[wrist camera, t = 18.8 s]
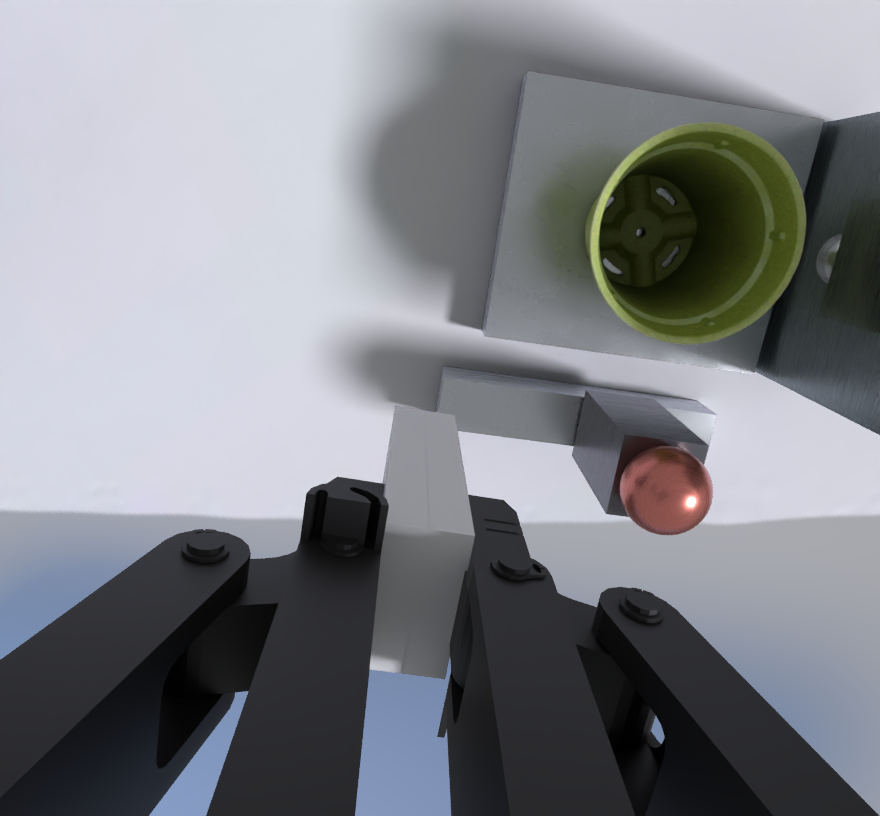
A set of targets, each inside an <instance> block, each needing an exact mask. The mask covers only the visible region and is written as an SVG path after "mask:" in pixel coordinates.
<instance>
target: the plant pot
mask: <svg viewBox="0 0 880 816" xmlns="http://www.w3.org/2000/svg"><path fill="white" fill-rule="evenodd" d="M658 188H664V189H666V190H667V191H668V192H669V193H671V194H672V195H673V196H674V197H675V199H676V201H677V202H676V203H677V204H676V205H675V206H672V204H671V203H670V202H669V201H668V200H667V199H666V198H665V197H663V196H662V195H660V194H658V193H657V189H658ZM613 196H614V197H616V199H615V201H614V202H613V203H612V204H611V205H610V207H609V208H608V209H607V211H606V212H605V214H604V211H605V208H606V205H607V203H608V201H609V199H610V197H613ZM603 214H604V215H603ZM641 227H642V228H644V229H645V230H646V233H645V235H644V236H643V237H638V236H637V230H638V229H639V228H641ZM805 233H806V210H805V203H804V198H803V193H802V190H801V187H800V184H799V182H798V180H797V177H796V175H795V173H794V171H793V170H792V168H791V167H790V165H789V164H788V162H787V161H786V159H785V158H784V157H783V156H782V155H781V154H780V153H779V152H778V151H777V150H776V149H775V148H774V147H773V146H772V145H771V144H769V143H768V142H767V141H765V140H764V139H763V138H761V137H759V136H758V135H756V134H754V133H752V132H750V131H748V130H746V129H743V128H740V127H736V126H733V125H729V124H724V123H715V122H700V123H691V124H685V125H681V126H677V127H674V128H671V129H668V130H665V131H663V132H661V133H659V134H657V135H655V136H653V137H651V138H649V139H648V140H646V141H645V142H643V143H642V144H640V145H639V146H638V147H636V148H635V149H634V150H633V151H632V152H630V153H629V154H628V155H627V156H626V157H625V158H624V159H623V160H622V161H621V163H620V164H619V165H618V166H617V167H616V169H615V170H614V171H613V173H612V174H611V175H610V177H609V179H608V180H607V182H606V184H605V185H604V187H603V189H602V191H601V194H600V195H599V196H598V197H597V199H596V200H595V202H594V203H593V205H592V207H591V209H590V212H589V214H588V216H587V220H586V224H585V243H586V249H587V253H588V256H589V258H590V261H591V267H592V271H593V275H594V278H595V281H596V284H597V286H598V288H599V290H600V292H601V294H602V296H603V298H604V299H605V301H606V302H607V304H608V305H609V307H610V308H611V309H612V310H613V311H614V312H615V314H616V315H617V316H618V317H619V318H621V319H622V320H623V321H624V322H625V323H626V324H628V325H629V326H630V327H632V328H633V329H635V330H636V331H638V332H640V333H642V334H644V335H646V336H648V337H651V338H653V339H656V340H660V341H664V342H668V343H674V344H701V343H707V342H712V341H716V340H719V339H722V338H725V337H728V336H730V335H732V334H734V333H736V332H738V331H740V330H742V329H744V328H746V327H747V326H749V325H751V324H752V323H754V322H755V321H756V320H758V319H759V318H760V317H761V316H762V315H764V314H765V313H766V312H767V311H768V310H769V309H770V308H771V307H772V306H773V304H774V303H775V302H776V301H777V300H778V298H779V297H780V296H781V295H782V293H783V292H784V290H785V289H786V287H787V286H788V284H789V282H790V281H791V279H792V276H793V274H794V273H795V271H796V269H797V266H798V264H799V261H800V258H801V255H802V252H803V247H804V239H805ZM676 246H679V248H680V251H679V253H678V254H677V256H676V257H675V258H674V261H673V262H672V263H671V264H670V265H669V266H668V267H663V266H662V263H663V262H664V261H665V260H666V259H667V258H668V257H669V256H670V255H671V253H672V252H673V251H674V249H675V247H676ZM605 258H607V259H609V261H610V262H611V263H612V264H613V265H614V266H616V267H617V268H619V269H620V270H621V271H623V274H617V273H614V272H612V271H610V270H609V269H608V268H607V267H606V266H605V265H604V263H603V260H604V259H605Z"/></svg>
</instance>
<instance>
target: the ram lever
mask: <svg viewBox="0 0 880 816" xmlns="http://www.w3.org/2000/svg"><path fill="white" fill-rule="evenodd" d="M708 447H709V445H708V444H706V443H705V442H704V441H703V440H702V439H701V438H699V437H698V436H697V435H696V434H695V433H694V432H692V431H691V430H690V429H689V428H688V427H686V426H685V425H684V424H683V423H682V422H681V421H679V420H678V419H677V418H676V417H675V416H674V415H672V414H671V413H670V412H669V411H668V410H667V409H665V408H664V407H663V406H662V405H661V404H659V403H658V402H657V401H656V400H655V399H650V398H643V397H635V396H628V395H621V394H613V393H606V392H599V391H591V390H586V391H585V396H584V400H583V405H582V410H581V415H580V420H579V424H578V429H577V434H576V439H575V443H574V448H573V453H572V456H573V458H574V460H575V462H576V463H577V465H578V467H579V468H580V470H581V472H582V474H583V475H584V477H585V479H586V480H587V482H588V484H589V485H590V487H591V489H592V491H593V492H594V494H595V496H596V497H597V499H598V501H599V502H600V504H601V506H602V508H603V509H604V511H605V513H606V514H611V515H619V516H627V517H630V518H631V519H632V520H633V521H634V522H635V523H636V524H637V525H639V526H640V527H642V528H643V529H645V530H647V531H649V532H652V533H655V534H659V535H676V534H681V533H684V532H686V531H689V530H690V529H692V528H694V527H695V526H697V525H698V524H699V523H700V522H701V521H702V520H703V519H704V517H705V516H706V514H707V513H708V511H709V509H710V506H711V503H712V498H713V487H712V481H711V478H710V476H709V473H708V471H707V469H706V468H705V466H704V462H705V458H706V454H707V451H708Z"/></svg>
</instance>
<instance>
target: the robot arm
mask: <svg viewBox="0 0 880 816" xmlns="http://www.w3.org/2000/svg"><path fill="white" fill-rule="evenodd" d="M250 554H251V553H250V550H249V546H248V545H247V544H246V543H245V542H244V541H243V540H242V539H240V538H238V537H236V536H234V535H231V534H229V533H225V532H218V531H216V530H209V529H206V530H203V529H199V530H193V531H189V532H184V533H180V534H177V535H175V536H173V537H171V538H169V539H166V540H165V541H163V542H162V543H161V544H159V545H158V546H157V547H155V548H154V549H152V550H151V551H150V552H148V553H147V554H146V555H144V556H143V557H141V558H140V559H139V560H137V561H136V562H135V563H133V564H132V565H130V566H129V567H128V568H126V569H125V570H124V571H122V572H121V573H120V574H118V575H117V576H115V577H114V578H113V579H111V580H110V581H108V582H107V583H106V584H104V585H103V586H101V587H100V588H99V589H97V590H96V591H95V592H93V593H92V594H90V595H89V596H88V597H86V598H85V599H84V600H82V601H81V602H79V603H78V604H77V605H76V606H74V607H73V608H71V609H70V610H68V611H67V612H66V613H64V614H63V615H62V616H60V617H59V618H57V619H56V620H55V621H53V622H52V623H51V624H49V625H48V626H46V627H45V628H44V629H43V630H41V631H40V632H38V633H37V634H35V635H34V636H33V637H31V638H30V639H29V640H27V641H26V642H25V643H23V644H22V645H20V646H19V647H18V648H16V649H15V650H13V651H12V652H11V653H9V654H8V655H7V656H5V657H4V658H3V659H1V660H0V816H149V815H150V813H151V812H152V811H153V809H154V808H155V807H156V805H157V804H158V803H159V801H160V800H161V799H162V797H163V796H164V795H165V794H166V792H167V791H168V790H169V788H170V787H171V785H172V784H173V783H174V781H175V780H176V779H177V778H178V776H179V775H180V774H181V772H182V771H183V770H184V768H185V767H186V766H187V764H188V763H189V762H190V760H191V759H192V758H193V756H194V755H195V754H196V752H197V751H198V750H199V748H200V747H201V746H202V744H203V743H204V742H205V741H206V739H207V738H208V737H209V735H210V734H211V733H212V731H213V730H214V729H215V727H216V726H217V725H218V723H219V722H220V721H221V719H222V718H223V717H224V715H225V714H226V713H227V711H228V710H229V709H230V706H231V704H232V702H233V700H234V697H235V692H242V691H249V692H248V695H247V698H246V701H245V704H244V707H243V710H242V712H241V715H240V719H239V721H238V724H237V727H236V730H235V733H234V736H233V739H232V742H231V745H230V748H229V751H228V754H227V756H226V760H225V762H224V765H223V769H222V771H221V774H220V777H219V780H218V783H217V786H216V789H215V792H214V795H213V798H212V800H211V803H210V806H209V809H208V812H207V815H206V816H355V808H356V798H357V788H358V778H359V768H360V758H361V748H362V739H363V728H364V718H365V708H366V698H367V688H368V678H369V669H372V670H380V671H387V672H395V673H402V674H410V675H418V676H425V677H433V678H441V679H445V677H446V672H447V667H448V662H449V657H450V658H451V675H450V680H449V684H448V689H447V694H446V699H445V703H444V708H443V713H442V718H441V722H440V727H439V732H438V737H444V736H445V733H446V729H447V736H448V757H449V777H450V795H451V816H879V815H878V814H877V813H876V812H875V811H874V810H873V809H872V808H871V807H870V806H869V805H868V804H867V803H866V802H865V801H864V800H863V799H862V798H861V797H860V796H859V795H858V794H857V793H856V792H855V791H854V790H853V789H852V788H851V787H850V786H849V785H848V784H847V783H846V782H845V781H844V780H843V779H842V778H841V777H840V776H839V774H838V773H837V772H836V771H835V770H834V769H833V768H832V767H831V766H830V765H829V764H828V763H827V762H826V761H825V760H823V758H822V757H821V756H820V755H819V754H818V753H817V752H816V751H815V750H814V749H813V748H812V747H811V746H810V745H809V744H808V743H807V742H806V741H805V740H804V739H803V738H802V737H801V736H800V735H799V734H798V733H797V732H796V731H795V730H794V729H793V728H792V727H791V726H790V725H789V724H788V723H787V722H786V721H785V720H784V719H783V718H782V717H781V716H780V715H779V714H778V713H777V712H776V710H775V709H774V708H773V707H772V706H771V705H770V704H768V702H767V701H766V700H765V699H764V698H763V697H762V696H761V695H760V694H759V693H758V692H757V691H756V690H755V689H754V688H753V687H752V686H751V685H750V684H749V683H748V682H747V681H746V680H745V679H744V678H743V677H742V676H741V675H740V674H739V673H738V672H737V671H736V670H735V669H734V668H733V667H732V666H731V665H730V664H729V663H728V662H727V661H726V660H725V659H724V658H723V657H722V656H721V655H720V654H719V653H718V652H717V651H716V650H715V649H714V648H713V647H712V646H711V645H710V644H709V642H707V640H706V639H705V638H704V637H703V636H702V635H701V634H700V633H699V632H698V631H697V630H696V629H695V628H694V627H693V626H692V625H691V624H690V623H689V622H688V621H687V620H686V619H685V618H684V617H683V616H682V615H681V614H680V613H679V612H678V611H677V610H676V609H675V608H673V607H672V606H671V605H669V604H668V603H667V602H666V601H664V600H662V599H660V598H658V597H656V596H654V595H653V594H652V593H650V592H647V591H642V590H641V589H637V588H624V587H617V588H609V589H607V590H605V591H604V592H602V593H601V595H600V599H599V603H598V606H597V607H594V606H591V605H588V604H584V603H582V602H578V601H575V600H572V599H570V598H567V597H565V596H562V595H561V594H559V593H558V592H557V590H556V587H555V584H554V581H553V578H552V576H551V574H550V573H549V571H548V570H547V568H546V567H544V566H543V565H542V564H540V563H539V562H537V561H536V560H534V559H531V558H530V555H529V552H528V549H527V545H526V542H525V539H524V536H523V532H522V529H521V526H520V523H519V519H518V516H517V513H516V511H515V510H513V509H512V508H511V507H510V506H509V505H508V504H507V503H506V502H505V501H504V500H499V499H492V498H486V497H479V496H473V495H468V491H467V485H466V479H465V473H464V467H463V461H462V455H461V449H460V443H459V437H458V431H457V425H456V419H455V415H450V414H444V413H438V412H431V411H425V410H419V409H413V408H406V407H400V406H395V411H394V417H393V423H392V429H391V435H390V441H389V447H388V453H387V459H386V465H385V471H384V477H383V484H381V483H375V482H368V481H362V480H355V479H348V478H342V477H337V478H335V479H333V480H332V481H330V482H329V483H327V484H321V485H318V486H316V487H313V488H311V489H310V490H309V491H308V493H307V494H306V501H305V508H304V516H303V523H302V532H301V538H300V543H299V545H298V549H297V551H295V552H293V553H291V554H288V555H284V556H281V557H276V558H265V559H250ZM655 716H657V718H658V720H659V722H660V723H661V725H662V729H663V732H664V735H665V738H664V741H663V743H662V744H660V743H659V742H658V740H657V739H656V738H655V736H654V735H653V734H652V732H651V729H652V725H653V722H654V719H655Z"/></svg>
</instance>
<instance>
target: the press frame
mask: <svg viewBox="0 0 880 816" xmlns="http://www.w3.org/2000/svg"><path fill="white" fill-rule="evenodd" d="M700 122H715V123H724V124H729V125H733V126H736V127H740V128H743V129H746V130H748V131H750V132H752V133H754V134H756V135H758V136H759V137H761V138H763V139H764V140H765V141H767V142H768V143H769V144H771V145H772V146H773V147H774V148H775V149H776V150H777V151H778V152H779V153H780V154H781V155H782V156H783V157H784V158H785V159H786V161H787V162H788V164H789V165H790V167H791V168H792V170H793V171H794V173H795V175H796V177H797V180H798V182H799V184H800V187H801V190H802V193H803V198H804V203H805V210H806V233H805V239H804V247H803V252H802V255H801V258H800V261H799V264H798V266H797V269H796V271H795V273H794V274H793V276H792V279H791V281H790V282H789V284H788V286H787V287H786V289H785V290H784V292H783V293H782V295H781V296H780V297H779V298H778V300H777V301H776V302H775V303H774V304H773V306H772V307H771V308H770V309H769V310H768V311H767V312H766V313H765V314H764V315H762V316H761V317H760V318H759V319H758V320H756V321H755V322H754V323H752V324H751V325H749V326H747V327H746V328H744V329H742V330H740V331H738V332H736V333H734V334H732V335H730V336H728V337H725V338H722V339H719V340H716V341H712V342H707V343H701V344H674V343H668V342H664V341H660V340H656V339H653V338H651V337H648V336H646V335H644V334H642V333H640V332H638V331H636V330H635V329H633V328H632V327H630V326H629V325H628V324H626V323H625V322H624V321H623V320H622V319H621V318H619V317H618V316H617V315H616V314H615V312H614V311H613V310H612V309H611V308H610V307H609V305H608V304H607V302H606V301H605V299H604V298H603V296H602V294H601V292H600V290H599V288H598V286H597V284H596V281H595V278H594V275H593V271H592V267H591V261H590V258H589V256H588V253H587V249H586V243H585V224H586V220H587V216H588V214H589V212H590V209H591V207H592V205H593V203H594V202H595V200H596V199H597V197H598V196H599V195H600V194H601V191H602V189H603V187H604V185H605V184H606V182H607V180H608V179H609V177H610V175H611V174H612V173H613V171H614V170H615V169H616V167H617V166H618V165H619V164H620V163H621V161H622V160H623V159H624V158H625V157H626V156H627V155H628V154H629V153H630V152H632V151H633V150H634V149H635V148H636V147H638V146H639V145H640V144H642V143H643V142H645V141H646V140H648V139H649V138H651V137H653V136H655V135H657V134H659V133H661V132H663V131H665V130H668V129H671V128H674V127H677V126H681V125H685V124H691V123H700ZM823 122H824V119H818V118H812V117H806V116H800V115H794V114H787V113H781V112H775V111H769V110H763V109H757V108H751V107H745V106H739V105H733V104H726V103H720V102H714V101H708V100H702V99H696V98H690V97H684V96H678V95H672V94H665V93H659V92H653V91H647V90H641V89H635V88H629V87H623V86H617V85H611V84H604V83H598V82H592V81H586V80H580V79H574V78H568V77H562V76H556V75H550V74H543V73H537V72H531V71H528V72H527V73H526V74H525V76H524V77H523V80H522V87H521V93H520V99H519V105H518V111H517V117H516V123H515V130H514V136H513V142H512V148H511V154H510V160H509V166H508V173H507V179H506V185H505V191H504V197H503V203H502V209H501V216H500V222H499V228H498V234H497V240H496V246H495V252H494V259H493V265H492V271H491V277H490V283H489V289H488V295H487V302H486V308H485V314H484V320H483V326H482V332H483V334H484V336H486V337H493V338H500V339H507V340H515V341H522V342H529V343H536V344H543V345H550V346H558V347H565V348H572V349H579V350H586V351H593V352H600V353H608V354H615V355H622V356H629V357H636V358H643V359H651V360H658V361H665V362H672V363H679V364H686V365H694V366H701V367H708V368H715V369H722V370H729V371H736V372H744V373H751V374H754V373H755V372H757V373H759V374H761V375H763V376H765V377H767V378H769V379H771V380H773V381H775V382H777V383H779V384H781V385H783V386H785V387H787V388H789V389H791V390H793V391H795V392H796V393H798V394H800V395H802V396H804V397H806V398H808V399H810V400H812V401H814V402H816V403H818V404H820V405H822V406H824V407H826V408H828V409H830V410H832V411H834V412H836V413H838V414H840V415H842V416H844V417H846V418H848V419H849V420H851V421H853V422H855V423H857V424H859V425H861V426H863V427H865V428H867V429H869V430H871V431H873V432H875V433H877V434H879V435H880V112H876V113H871V114H866V115H861V116H856V117H851V118H846V119H841V120H836V121H831V122H826V123H823ZM657 193H658V194H660V195H662V196H663V197H665V198H666V199H667V200H668V201H669V202H670V203H671V204H672V206H675V205H676V204H677V203H676V202H677V201H676V199H675V197H674V196H673V195H672V194H671V193H669V192H668V191H667V190H666V189H664V188H658V189H657ZM615 199H616V197H614V196H613V197H610V199H609V201H608V203H607V205H606V208H605V211H604V214H605V212H606V211H607V209H608V208H609V207H610V205H611V204H612V203H613V202H614V201H615ZM604 214H603V215H604ZM645 233H646V230H645V229H644V228H642V227H641V228H639V229H638V230H637V236H638V237H643V236H644V235H645ZM679 251H680V248H679V246H676V247H675V249H674V251H673V252H672V253H671V255H670V256H669V257H668V258H667V259H666V260H665V261H664V262H663V263H662V266H663V267H668V266H669V265H670V264H671V263H672V262H673V261H674V258H675V257H676V256H677V254H678V253H679ZM603 263H604V265H605V266H606V267H607V268H608V269H609V270H610V271H612V272H614V273H617V274H623V271H621V270H620V269H619V268H617V267H616V266H614V265H613V264H612V263H611V262H610V261H609V259H607V258H605V259H604V260H603ZM586 390H591V391H599V392H606V393H613V394H621V395H628V396H635V397H643V398H650V399H655V400H656V401H657V402H658V403H659V404H661V405H662V406H663V407H664V408H665V409H667V410H668V411H669V412H670V413H671V414H672V415H674V416H675V417H676V418H677V419H678V420H679V421H681V422H682V423H683V424H684V425H685V426H686V427H688V428H689V429H690V430H691V431H692V432H694V433H695V434H696V435H697V436H698V437H699V438H701V439H702V440H703V441H704V442H705V443H706V444H708V445H709V444H710V441H711V437H712V433H713V429H714V426H715V422H716V418H717V414H715V413H714V412H712V411H711V410H710V409H708V408H707V407H706V406H704V405H703V404H701V403H700V402H699V401H694V400H687V399H680V398H672V397H665V396H658V395H651V394H643V393H636V392H629V391H621V390H614V389H607V388H599V387H592V386H585V385H577V384H570V383H563V382H555V381H548V380H541V379H533V378H526V377H519V376H511V375H504V374H497V373H489V372H482V371H475V370H467V369H460V368H453V367H445V366H443V368H442V374H441V381H440V388H439V394H438V401H437V408H436V412H438V413H444V414H450V415H455V419H456V425H457V431H463V432H471V433H478V434H486V435H494V436H501V437H509V438H517V439H524V440H532V441H540V442H547V443H555V444H562V445H570V446H574V443H575V439H576V434H577V429H578V424H579V420H580V415H581V410H582V405H583V400H584V396H585V391H586ZM708 448H709V447H708ZM707 452H708V451H707ZM706 456H707V454H706ZM705 460H706V458H705ZM704 463H705V462H704Z"/></svg>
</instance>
